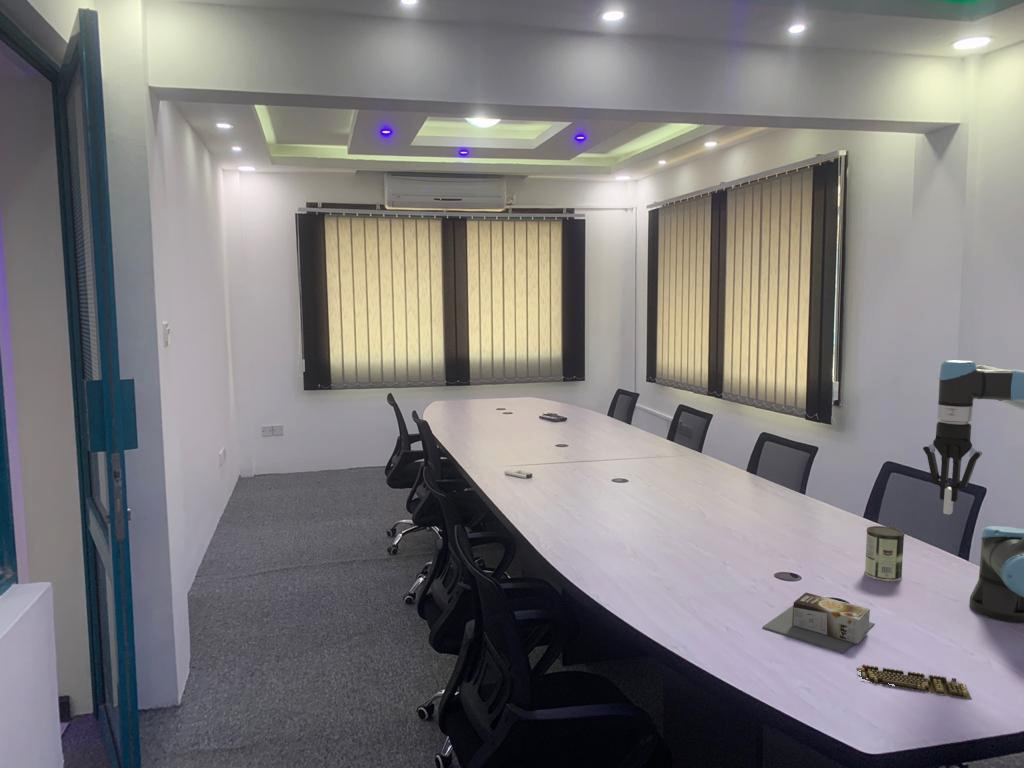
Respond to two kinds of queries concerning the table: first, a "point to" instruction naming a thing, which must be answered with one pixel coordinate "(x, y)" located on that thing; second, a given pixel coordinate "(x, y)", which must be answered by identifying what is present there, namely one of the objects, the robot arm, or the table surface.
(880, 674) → the keyboard
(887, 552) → the coffee can
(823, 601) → the coffee box
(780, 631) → the topple mat
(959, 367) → the robot arm
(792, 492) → the table surface
